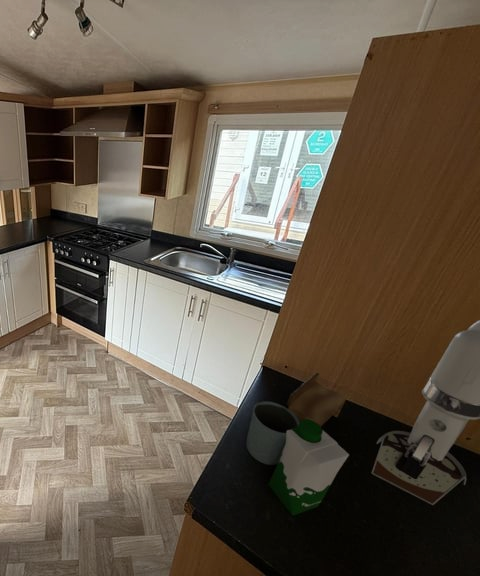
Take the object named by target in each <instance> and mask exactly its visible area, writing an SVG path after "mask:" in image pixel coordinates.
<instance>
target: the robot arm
mask: <svg viewBox="0 0 480 576" xmlns="http://www.w3.org/2000/svg"><path fill="white" fill-rule="evenodd" d="M425 383H426V384H425V385H424V387H423V388H422V390H421V394H422V396H423V398H424V399H425V400H426V401H425V403H424V406H423V407H422V409H421V410H420V413H419V414H418V416H417V418H416V420H415V423H414V424H413V426H412V429H411V431H410V433H411V434H410V436H409V439H408V441H407V442H408V444H409V445H411V446H410V447H409V449H408V450H407V452H406V453H403V455H402V456H401V458H400V459H399V461H398V463H397V464H396V466H395V467H396V468H397V469H399V470H400V471H402V472H403V473H405V474H407V475H408V476H410V477H412V478H413V479H417V478H418V477H419V475H420V474H421V472H422V471H423V470H424V468H425V467H426V465H425V464H426V462H427V461H428V459H429V457H430V456H431V455H432V458H434V459H436V460H437V461H442V460H443V458H444V457H445V455H446V454H447V452H449V451H450V449H451V448H452V447H453V445H454V444H455V442H456V441H457V439H458V437H459V436H460V435H461V433H463V431H464V429H465V428H466V426H467V424H468V422H469V421H470V420H471V421H475V420H480V319H479V320H477V321H476V322H474V323H473V324H472V325H470V326H469V327H468V328H467V330H462V331H460V332H458V333H456V334H455V335H454V337H452V339H451V341H450V343H449V345H448V346H447V348H446V349H445V351H444V353H443V355H442V356H441V358H440V360H439V361H438V363H437V365H436V367H435V368H434V370H433V372H432V373H431V375H430V376H429V379H428V380H427V382H425ZM416 442H419V443H420V444H419V445H417V444H415V443H416ZM414 448H416V450H415V452H414V453H411V452H412V450H413V449H414ZM429 448H430V449H431V450H430V451H428V449H429ZM425 454H426V455H425ZM424 455H425V457H424ZM423 457H424V458H423Z"/></svg>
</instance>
